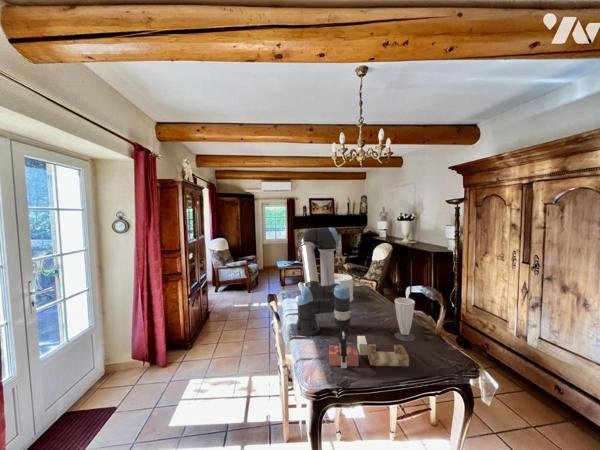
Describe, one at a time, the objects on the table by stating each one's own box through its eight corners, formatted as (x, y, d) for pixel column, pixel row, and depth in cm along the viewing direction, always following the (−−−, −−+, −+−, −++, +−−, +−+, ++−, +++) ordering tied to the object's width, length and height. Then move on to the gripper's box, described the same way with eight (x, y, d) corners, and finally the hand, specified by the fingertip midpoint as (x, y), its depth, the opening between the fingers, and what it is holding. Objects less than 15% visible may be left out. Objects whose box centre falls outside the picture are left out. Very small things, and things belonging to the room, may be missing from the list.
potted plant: (306, 313, 193) (305, 280, 191) (293, 311, 199) (292, 278, 197) (314, 308, 203) (313, 276, 202) (301, 305, 209) (300, 274, 208)
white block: (367, 355, 136) (367, 344, 135) (359, 355, 136) (359, 344, 136) (364, 346, 145) (364, 335, 144) (357, 346, 145) (357, 335, 145)
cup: (391, 332, 160) (391, 297, 159) (410, 332, 160) (410, 297, 159) (398, 341, 149) (398, 304, 148) (418, 341, 148) (418, 304, 147)
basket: (355, 303, 212) (355, 280, 211) (326, 304, 212) (325, 281, 211) (350, 293, 236) (349, 273, 236) (323, 294, 237) (323, 273, 236)
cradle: (370, 365, 126) (370, 355, 126) (366, 353, 137) (366, 344, 137) (409, 367, 125) (409, 356, 124) (402, 354, 136) (402, 345, 135)
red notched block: (329, 365, 128) (329, 349, 127) (329, 358, 134) (328, 342, 133) (358, 366, 126) (358, 349, 126) (357, 359, 132) (356, 343, 132)
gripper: (352, 327, 117) (353, 376, 119) (348, 309, 139) (348, 350, 140) (335, 327, 118) (336, 375, 119) (333, 309, 140) (334, 349, 141)
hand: (343, 361), depth 130 cm, fingers open, 9 cm apart
